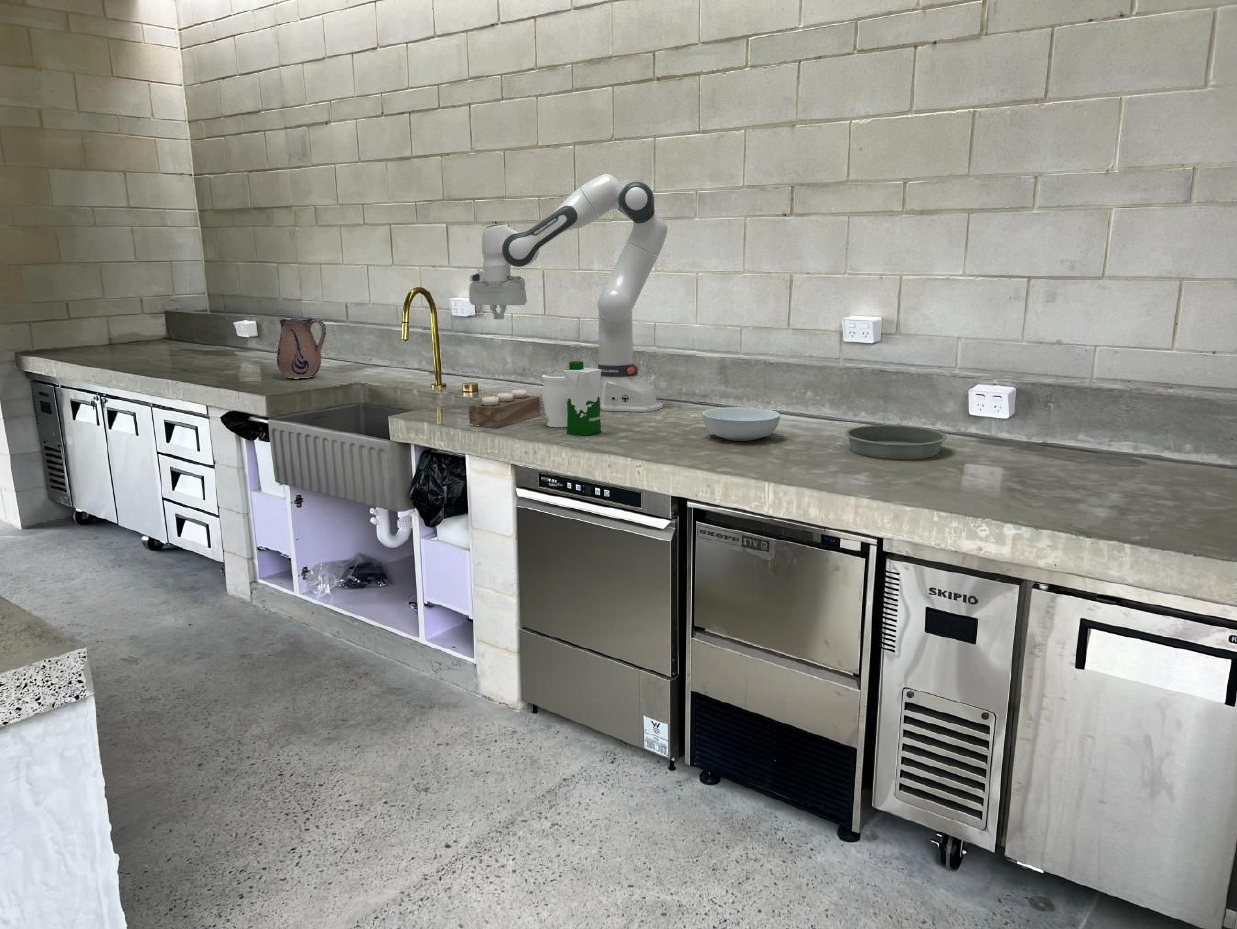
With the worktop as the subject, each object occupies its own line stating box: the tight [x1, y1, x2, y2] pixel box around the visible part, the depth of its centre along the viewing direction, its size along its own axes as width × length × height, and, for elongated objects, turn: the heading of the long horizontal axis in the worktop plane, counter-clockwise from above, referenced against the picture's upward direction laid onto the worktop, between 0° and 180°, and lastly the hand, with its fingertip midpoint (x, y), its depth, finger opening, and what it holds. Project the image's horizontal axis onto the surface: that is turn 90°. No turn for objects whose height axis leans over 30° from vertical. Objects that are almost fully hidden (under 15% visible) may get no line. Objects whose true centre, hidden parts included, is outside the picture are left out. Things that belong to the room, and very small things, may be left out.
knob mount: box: [468, 395, 541, 429], centre depth 284 cm, size 10×24×6 cm, turn 154°
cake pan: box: [844, 424, 948, 460], centre depth 234 cm, size 25×25×4 cm
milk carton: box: [563, 360, 602, 437], centre depth 261 cm, size 9×9×20 cm
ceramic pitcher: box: [276, 317, 327, 378], centre depth 390 cm, size 18×21×25 cm
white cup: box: [541, 372, 567, 428], centre depth 273 cm, size 11×10×15 cm
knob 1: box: [481, 395, 499, 407], centre depth 276 cm, size 5×5×6 cm
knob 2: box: [510, 388, 528, 399], centre depth 290 cm, size 5×5×6 cm
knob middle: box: [496, 392, 513, 403], centre depth 283 cm, size 5×5×6 cm
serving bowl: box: [701, 406, 781, 442], centre depth 252 cm, size 21×21×7 cm
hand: (498, 319), depth 303 cm, fingers closed
